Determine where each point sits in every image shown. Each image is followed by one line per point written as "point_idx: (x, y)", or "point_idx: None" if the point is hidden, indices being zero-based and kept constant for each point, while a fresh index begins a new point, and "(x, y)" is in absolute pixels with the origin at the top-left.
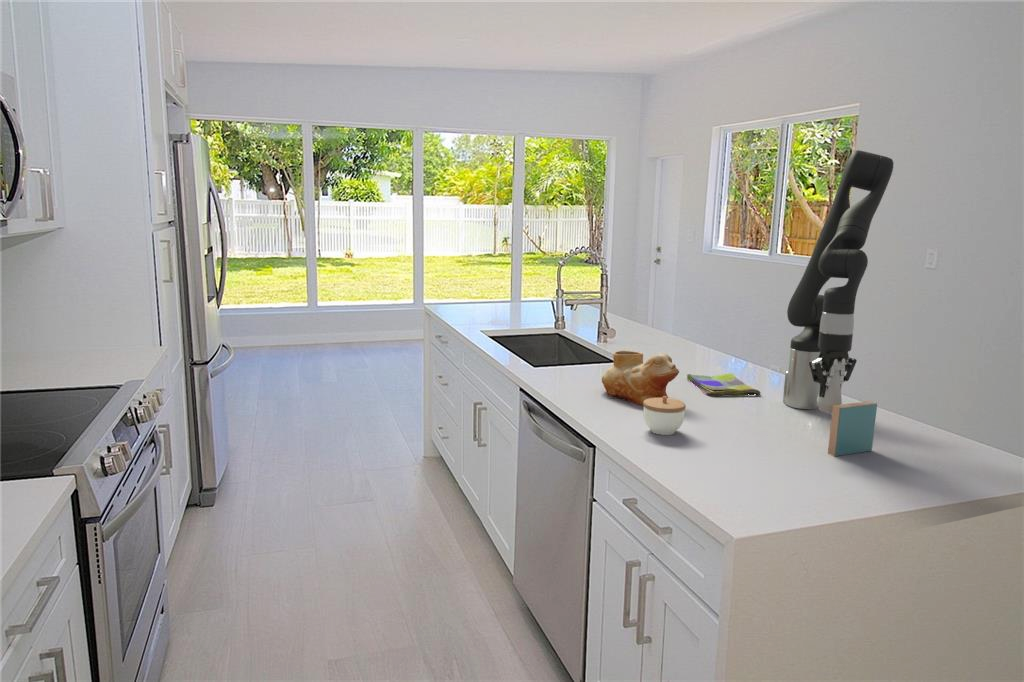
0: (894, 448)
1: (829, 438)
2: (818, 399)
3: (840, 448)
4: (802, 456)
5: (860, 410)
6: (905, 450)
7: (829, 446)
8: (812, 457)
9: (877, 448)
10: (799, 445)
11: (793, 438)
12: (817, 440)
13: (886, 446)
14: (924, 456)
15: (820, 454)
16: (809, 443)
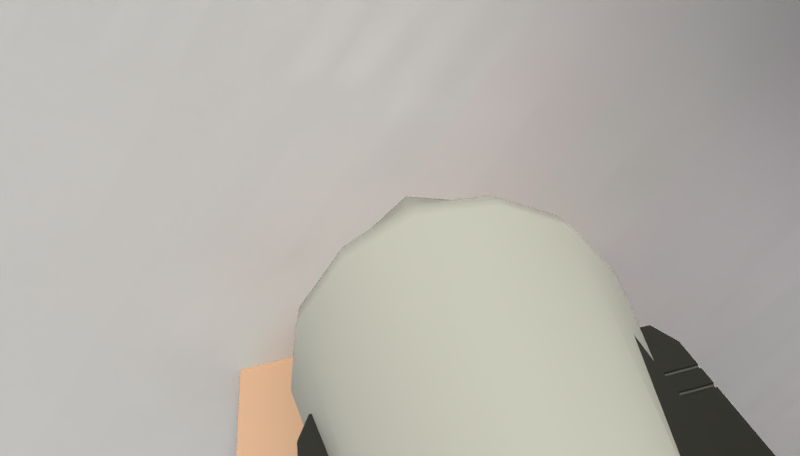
0: (762, 303)
1: (237, 451)
2: (299, 374)
3: None
4: (13, 413)
5: None
6: (791, 337)
7: (241, 413)
8: (83, 430)
9: (657, 297)
10: (101, 202)
11: (132, 17)
12: (337, 98)
13: (749, 266)
14: (796, 423)
15: (174, 383)
16: (219, 163)
